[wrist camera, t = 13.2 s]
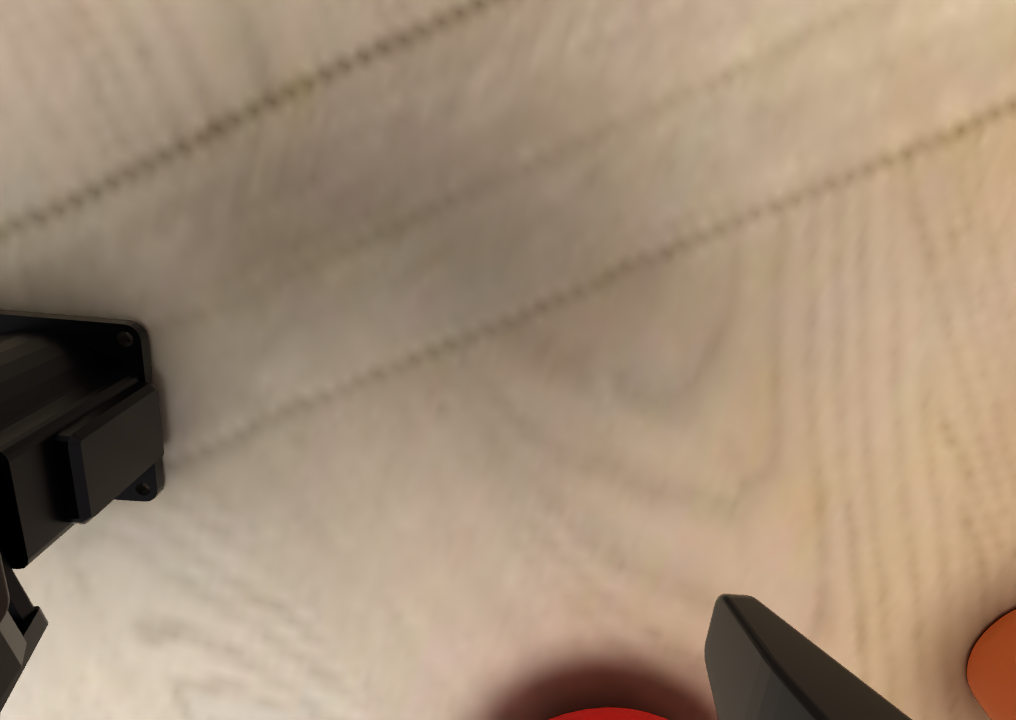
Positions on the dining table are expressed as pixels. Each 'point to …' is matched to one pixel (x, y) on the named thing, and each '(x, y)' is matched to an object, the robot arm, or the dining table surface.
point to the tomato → (608, 714)
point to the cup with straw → (995, 669)
